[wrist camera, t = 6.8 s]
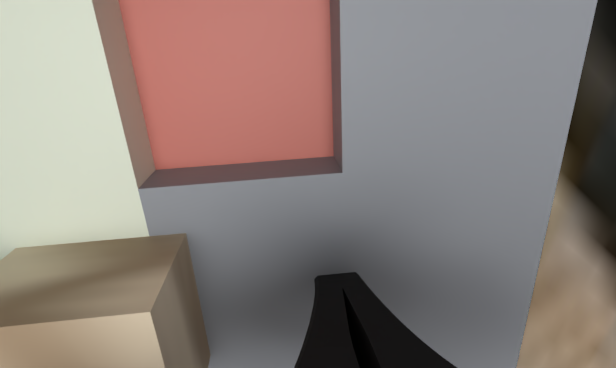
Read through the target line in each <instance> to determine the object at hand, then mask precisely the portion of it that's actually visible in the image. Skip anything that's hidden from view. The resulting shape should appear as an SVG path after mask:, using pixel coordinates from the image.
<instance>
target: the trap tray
mask: <svg viewBox="0 0 616 368" xmlns="http://www.w3.org/2000/svg"><path fill="white" fill-rule="evenodd" d="M596 4H597V0H0V260H1V259H3V258H4V257H5V256H6V255H8V254H9V253H10V252H11V251H13V250H14V249H15V248H22V247H33V246H45V245H56V244H67V243H79V242H90V241H101V240H113V239H124V238H135V237H147V236H158V235H169V234H181V233H186V235H187V240H188V245H189V250H190V255H191V260H192V265H193V270H194V275H195V280H196V285H197V290H198V295H199V300H200V305H201V310H202V315H203V320H204V325H205V330H206V335H207V340H208V345H209V350H210V360H209V365H208V368H294V366H295V364H296V362H297V359H298V356H299V354H300V351H301V348H302V345H303V342H304V339H305V336H306V332H307V329H308V326H309V322H310V318H311V313H312V309H313V304H314V297H315V283H314V279H315V278H316V277H317V276H318V275H329V274H339V273H349V272H356V273H357V274H358V275H359V276H360V277H361V278H362V279H363V281H364V282H365V283H366V284H367V286H368V287H369V288H370V289H371V290H372V291H373V293H374V294H375V295H376V296H377V297H378V298H379V299H380V300H381V302H382V303H383V304H384V305H385V306H386V307H387V308H388V309H389V310H390V311H391V312H392V313H393V314H394V315H395V316H396V317H397V318H398V319H399V320H400V321H401V322H402V323H403V324H404V325H405V326H406V327H407V328H409V329H410V330H411V331H412V332H413V333H414V334H415V335H416V336H417V337H418V338H420V339H421V340H422V341H423V342H424V343H426V344H427V345H428V346H429V347H430V348H432V349H433V350H434V351H435V352H437V353H438V354H439V355H441V356H442V357H443V358H444V359H446V360H447V361H449V362H450V363H451V364H453V365H454V366H456V367H457V368H516V366H517V362H518V357H519V353H520V348H521V344H522V339H523V335H524V330H525V326H526V321H527V317H528V312H529V308H530V303H531V298H532V294H533V289H534V285H535V280H536V276H537V271H538V267H539V262H540V258H541V253H542V249H543V244H544V240H545V235H546V231H547V226H548V222H549V217H550V212H551V208H552V203H553V199H554V194H555V190H556V185H557V181H558V176H559V172H560V167H561V163H562V158H563V154H564V149H565V145H566V140H567V136H568V131H569V127H570V122H571V117H572V113H573V108H574V104H575V99H576V95H577V90H578V86H579V81H580V77H581V72H582V68H583V63H584V59H585V54H586V50H587V45H588V41H589V36H590V32H591V27H592V22H593V18H594V13H595V9H596Z"/></svg>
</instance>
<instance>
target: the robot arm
mask: <svg viewBox="0 0 616 368" xmlns="http://www.w3.org/2000/svg"><path fill="white" fill-rule="evenodd" d="M314 283H315V297H314V304H313V309H312V313H311V318H310V322H309V326H308V329H307V332H306V336H305V339H304V342H303V345H302V348H301V351H300V354H299V356H298V359H297V362H296V364H295V366H294V368H457V367H456V366H454V365H453V364H451V363H450V362H449V361H447V360H446V359H444V358H443V357H442V356H441V355H439V354H438V353H437V352H435V351H434V350H433V349H432V348H430V347H429V346H428V345H427V344H426V343H424V342H423V341H422V340H421V339H420V338H418V337H417V336H416V335H415V334H414V333H413V332H412V331H411V330H410V329H409V328H407V327H406V326H405V325H404V324H403V323H402V322H401V321H400V320H399V319H398V318H397V317H396V316H395V315H394V314H393V313H392V312H391V311H390V310H389V309H388V308H387V307H386V306H385V305H384V304H383V303H382V302H381V300H380V299H379V298H378V297H377V296H376V295H375V294H374V293H373V291H372V290H371V289H370V288H369V287H368V286H367V284H366V283H365V282H364V281H363V279H362V278H361V277H360V276H359V275H358V274H357V273H356V272H349V273H339V274H329V275H318V276H317V277H316V278H315V279H314Z"/></svg>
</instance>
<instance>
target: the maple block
mask: <svg viewBox="0 0 616 368" xmlns="http://www.w3.org/2000/svg"><path fill="white" fill-rule="evenodd" d="M209 360H210V350H209V345H208V340H207V335H206V330H205V325H204V320H203V315H202V310H201V305H200V300H199V295H198V290H197V285H196V280H195V275H194V270H193V265H192V260H191V255H190V250H189V245H188V240H187V235H186V233H181V234H169V235H158V236H147V237H135V238H124V239H113V240H101V241H90V242H79V243H67V244H56V245H45V246H33V247H22V248H15V249H14V250H13V251H11V252H10V253H9V254H8V255H6V256H5V257H4V258H3V259H1V260H0V368H208V365H209Z"/></svg>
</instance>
